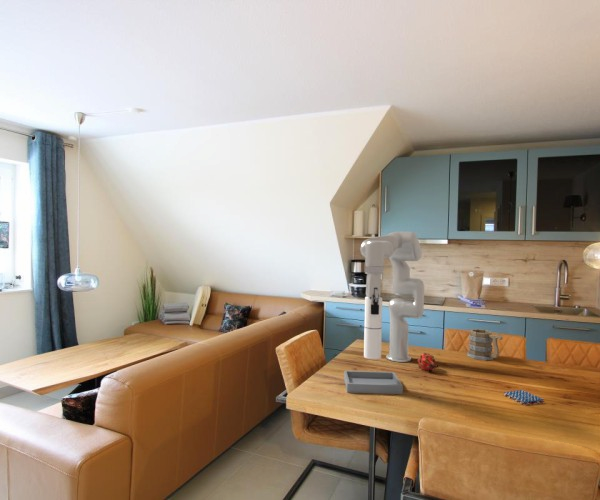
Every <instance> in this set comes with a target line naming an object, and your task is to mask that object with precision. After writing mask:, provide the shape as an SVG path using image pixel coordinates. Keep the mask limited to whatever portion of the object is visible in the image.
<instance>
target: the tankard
mask: <svg viewBox="0 0 600 500" xmlns="http://www.w3.org/2000/svg"><path fill="white" fill-rule="evenodd" d="M492 334H493V333H492V331H491V330H487V329H482V328H479V329H478V328H474V329H470V333H469V335H468V340H469V343H468V349H469V350H467V356H466V357H468V358H471V359H473V360H479V361H484V360H486V361H493V360H494V359H497V358H498V357H499V354H500V348H499V344H498V340H499V341H502V340H503V339H504V337H503V336H502V335H501V334H500V333H498V334H495V335H494V334H493V335H492ZM493 349H494V350H493ZM493 351H494V352H493ZM492 352H493V353H492Z"/></svg>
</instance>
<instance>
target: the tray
mask: <svg viewBox="0 0 600 500" xmlns="http://www.w3.org/2000/svg"><path fill="white" fill-rule="evenodd" d="M343 380H344V385H345V388H346V393H350V394H351V393H352V394H353V393H354V394H355V393H356V394H357V393H358V394H382V395H383V394H384V395H386V394H387V395H389V394H390V395H403V391H404V390H403V388H404V387H403V386H404V385H403V383H402V382H401V381H400V379H399V378H398V375H396V373H395V372H394V371H373V370H372V371H371V370H369V371H367V370H365V371H364V370H343Z"/></svg>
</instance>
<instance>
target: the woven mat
mask: <svg viewBox="0 0 600 500" xmlns="http://www.w3.org/2000/svg"><path fill="white" fill-rule="evenodd" d="M503 397H507V398H508V399H510V400H512V401H513V402H516V403H519V404H521V405H523V406H531V405H532V406H533V405H537V404H538V405H540V404H545V400H544V398H541V397H539V396H537V395H535V394H532V393H530V392H528V391H526V390H522V389H520V390H518V389H516V390H513V391H512V390H510V391H509V390H508V391H507V392H506V391H503Z"/></svg>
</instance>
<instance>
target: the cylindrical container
mask: <svg viewBox="0 0 600 500" xmlns="http://www.w3.org/2000/svg"><path fill="white" fill-rule="evenodd" d="M373 300H374V299H373ZM371 305H372V299H371V297H370V298H368V297H367V296H365V297H364V327H363V328H364V329H363V331H364V334H363V357H364V358H365V359H368V360H380V359H382V336H383V335H382V331H383V329H382V327H383V297H381V296H380V298H379V314H378V315H373V314H371Z"/></svg>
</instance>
